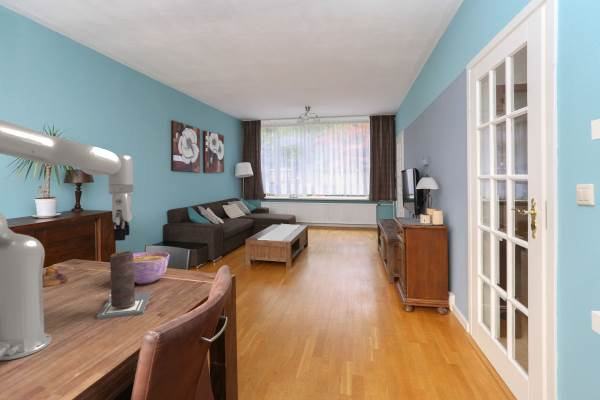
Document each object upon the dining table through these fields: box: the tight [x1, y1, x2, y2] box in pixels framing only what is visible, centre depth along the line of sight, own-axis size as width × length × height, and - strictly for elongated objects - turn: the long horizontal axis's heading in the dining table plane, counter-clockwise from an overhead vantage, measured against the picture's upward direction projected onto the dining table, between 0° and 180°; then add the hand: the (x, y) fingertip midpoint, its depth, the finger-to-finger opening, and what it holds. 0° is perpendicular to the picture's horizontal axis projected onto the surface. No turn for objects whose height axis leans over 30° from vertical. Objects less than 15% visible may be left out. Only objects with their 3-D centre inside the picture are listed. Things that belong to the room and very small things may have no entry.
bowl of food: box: [133, 251, 170, 285], centre depth 141 cm, size 20×20×12 cm
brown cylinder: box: [109, 250, 136, 308], centre depth 109 cm, size 8×7×20 cm
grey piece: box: [96, 290, 152, 320], centre depth 114 cm, size 20×14×4 cm
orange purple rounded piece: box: [42, 266, 69, 288], centre depth 137 cm, size 12×12×7 cm
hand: (122, 237), depth 108 cm, fingers open, 9 cm apart
